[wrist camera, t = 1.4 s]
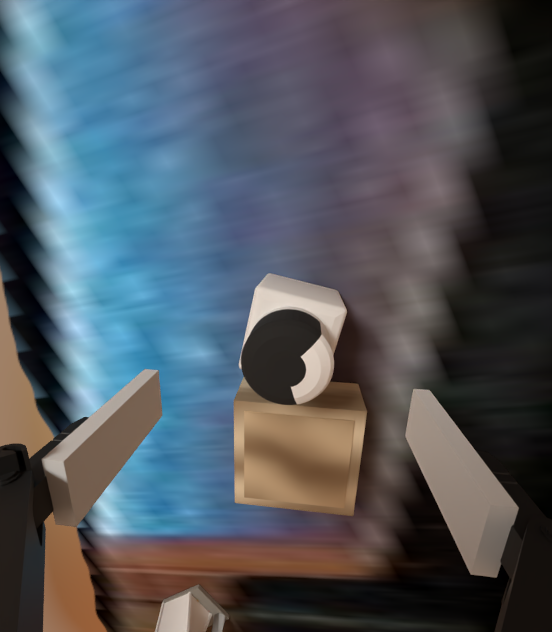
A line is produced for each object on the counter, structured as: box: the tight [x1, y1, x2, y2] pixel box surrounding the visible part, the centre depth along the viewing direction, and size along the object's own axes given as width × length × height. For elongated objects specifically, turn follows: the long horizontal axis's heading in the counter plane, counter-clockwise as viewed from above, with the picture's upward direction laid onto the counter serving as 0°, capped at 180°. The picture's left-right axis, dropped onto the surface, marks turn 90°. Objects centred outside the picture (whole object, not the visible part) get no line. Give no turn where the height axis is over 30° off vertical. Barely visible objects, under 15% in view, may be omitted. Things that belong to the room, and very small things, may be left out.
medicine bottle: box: [239, 273, 347, 405], centre depth 25 cm, size 7×7×12 cm
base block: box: [234, 377, 367, 516], centre depth 32 cm, size 12×12×5 cm
